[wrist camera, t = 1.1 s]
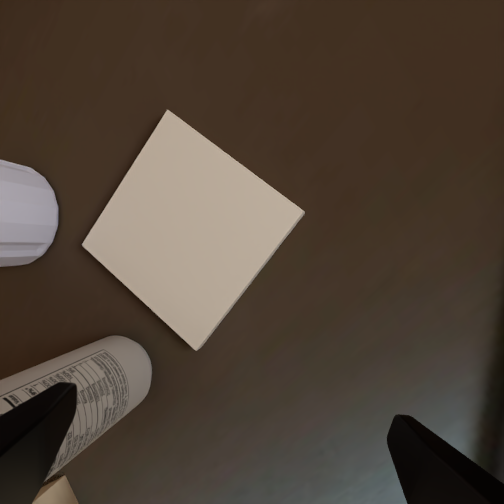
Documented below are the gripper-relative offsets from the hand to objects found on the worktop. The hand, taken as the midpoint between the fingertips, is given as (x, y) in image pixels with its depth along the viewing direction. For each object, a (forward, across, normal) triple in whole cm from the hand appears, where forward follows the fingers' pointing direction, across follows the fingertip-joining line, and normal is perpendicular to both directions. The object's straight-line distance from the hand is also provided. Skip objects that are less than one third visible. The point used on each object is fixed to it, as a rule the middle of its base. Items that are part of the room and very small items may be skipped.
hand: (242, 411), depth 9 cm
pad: (+17, +4, -1) cm, 17 cm away
